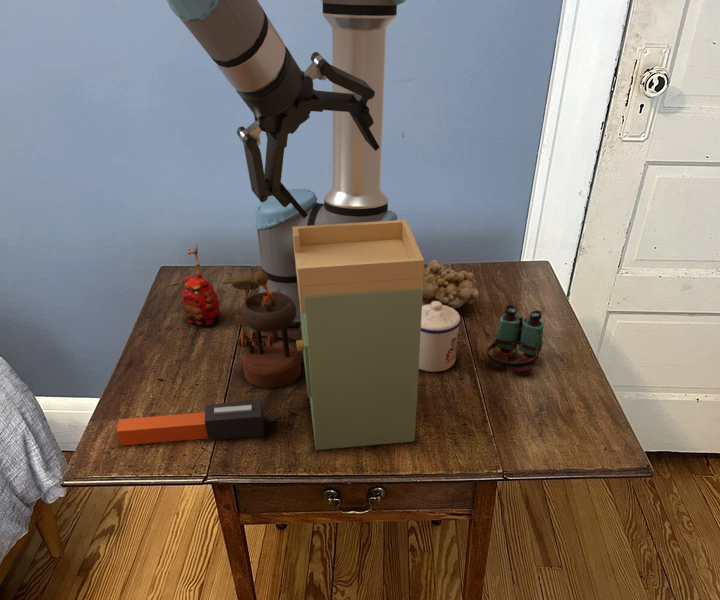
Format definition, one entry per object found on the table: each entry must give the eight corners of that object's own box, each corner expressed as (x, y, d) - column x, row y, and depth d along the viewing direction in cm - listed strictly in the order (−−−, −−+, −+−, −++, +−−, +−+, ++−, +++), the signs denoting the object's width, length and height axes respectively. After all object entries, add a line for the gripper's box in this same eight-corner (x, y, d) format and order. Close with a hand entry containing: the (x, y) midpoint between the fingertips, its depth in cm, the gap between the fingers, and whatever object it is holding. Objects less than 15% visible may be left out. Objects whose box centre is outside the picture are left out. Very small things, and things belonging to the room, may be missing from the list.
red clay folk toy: (178, 324, 138) (163, 253, 128) (196, 308, 143) (182, 238, 132) (211, 330, 136) (198, 258, 126) (228, 314, 141) (217, 243, 130)
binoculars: (485, 328, 116) (503, 297, 122) (481, 377, 124) (497, 345, 130) (537, 339, 113) (552, 307, 119) (529, 388, 121) (544, 355, 127)
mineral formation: (429, 284, 149) (493, 296, 142) (400, 319, 142) (465, 334, 136) (426, 251, 143) (492, 262, 136) (395, 286, 136) (464, 300, 130)
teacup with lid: (455, 375, 123) (461, 317, 115) (405, 371, 124) (407, 314, 116) (458, 340, 132) (464, 285, 124) (411, 337, 133) (414, 282, 125)
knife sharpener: (124, 431, 112) (117, 409, 109) (263, 419, 114) (260, 398, 111) (120, 448, 109) (113, 426, 106) (264, 435, 111) (261, 414, 108)
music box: (229, 388, 121) (213, 279, 109) (242, 359, 130) (228, 255, 117) (314, 390, 120) (307, 280, 108) (321, 361, 129) (316, 256, 116)
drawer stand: (301, 399, 118) (286, 226, 97) (400, 391, 120) (406, 219, 99) (306, 451, 108) (290, 269, 87) (414, 441, 109) (424, 260, 89)
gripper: (323, -31, 77) (388, 100, 96) (169, 127, 82) (260, 222, 101) (358, -1, 74) (418, 129, 93) (196, 162, 79) (285, 254, 98)
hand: (336, 178), depth 97 cm, fingers open, 13 cm apart
